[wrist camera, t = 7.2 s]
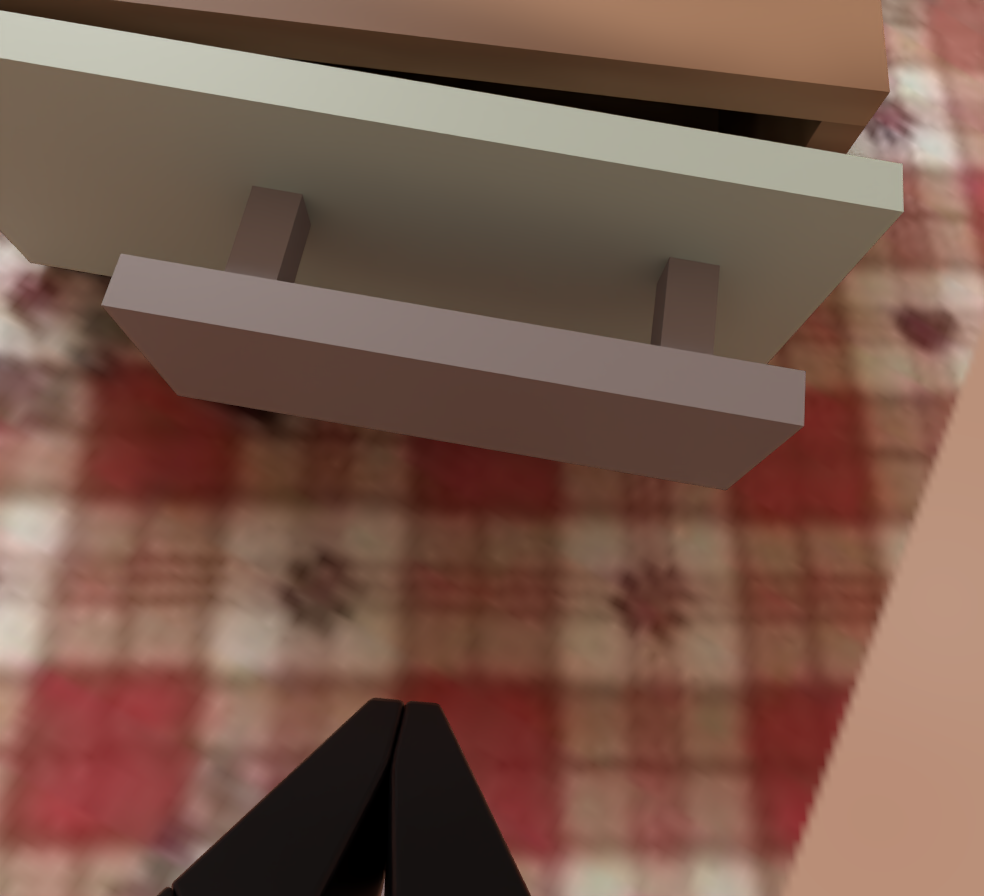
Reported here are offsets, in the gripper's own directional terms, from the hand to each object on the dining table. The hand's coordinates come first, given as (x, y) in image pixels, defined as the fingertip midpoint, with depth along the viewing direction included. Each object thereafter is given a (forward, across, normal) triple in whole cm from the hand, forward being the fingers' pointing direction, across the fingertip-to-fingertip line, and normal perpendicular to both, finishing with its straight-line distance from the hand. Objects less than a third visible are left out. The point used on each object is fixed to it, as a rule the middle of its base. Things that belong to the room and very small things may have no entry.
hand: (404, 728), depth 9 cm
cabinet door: (+15, -3, -1) cm, 15 cm away
